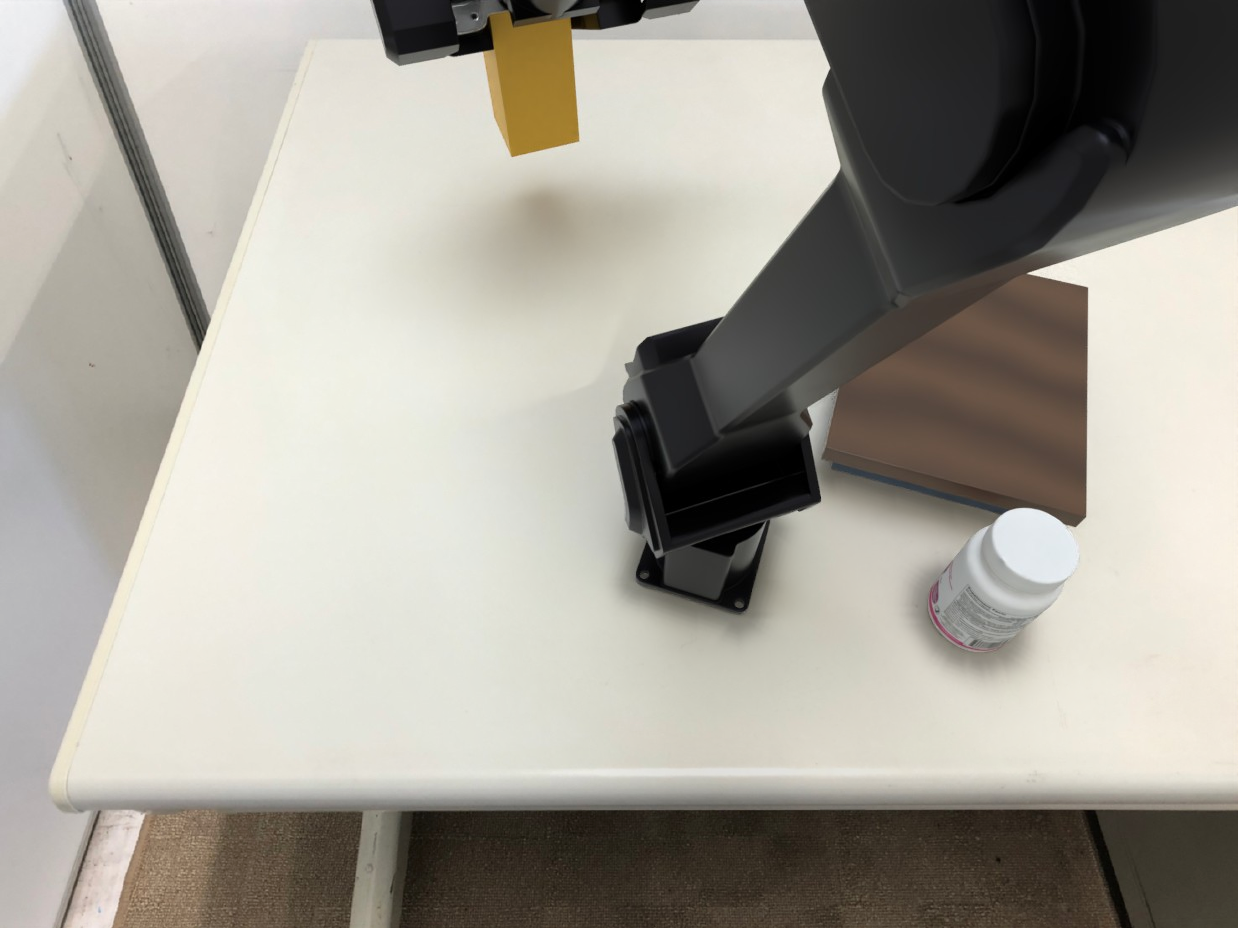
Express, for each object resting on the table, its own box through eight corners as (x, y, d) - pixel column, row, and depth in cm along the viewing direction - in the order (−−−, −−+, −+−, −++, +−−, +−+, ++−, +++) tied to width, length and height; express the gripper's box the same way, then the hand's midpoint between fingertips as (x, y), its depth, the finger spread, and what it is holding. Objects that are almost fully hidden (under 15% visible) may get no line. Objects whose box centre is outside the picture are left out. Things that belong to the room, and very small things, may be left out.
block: (579, 141, 56) (564, -61, 45) (511, 157, 55) (479, -45, 44) (559, 102, 59) (540, -97, 48) (494, 117, 58) (460, -83, 47)
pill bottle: (948, 558, 46) (1010, 482, 39) (1026, 607, 44) (1106, 537, 37) (909, 618, 44) (967, 549, 37) (989, 672, 42) (1066, 611, 35)
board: (1045, 556, 46) (1086, 517, 42) (807, 490, 48) (825, 447, 44) (1054, 336, 55) (1088, 286, 51) (854, 289, 57) (872, 239, 54)
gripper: (707, -311, 37) (623, -129, 52) (303, -271, 34) (338, -87, 48) (754, -52, 40) (661, 51, 55) (383, 11, 36) (392, 103, 51)
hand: (519, 27), depth 52 cm, fingers closed on block, 5 cm apart
